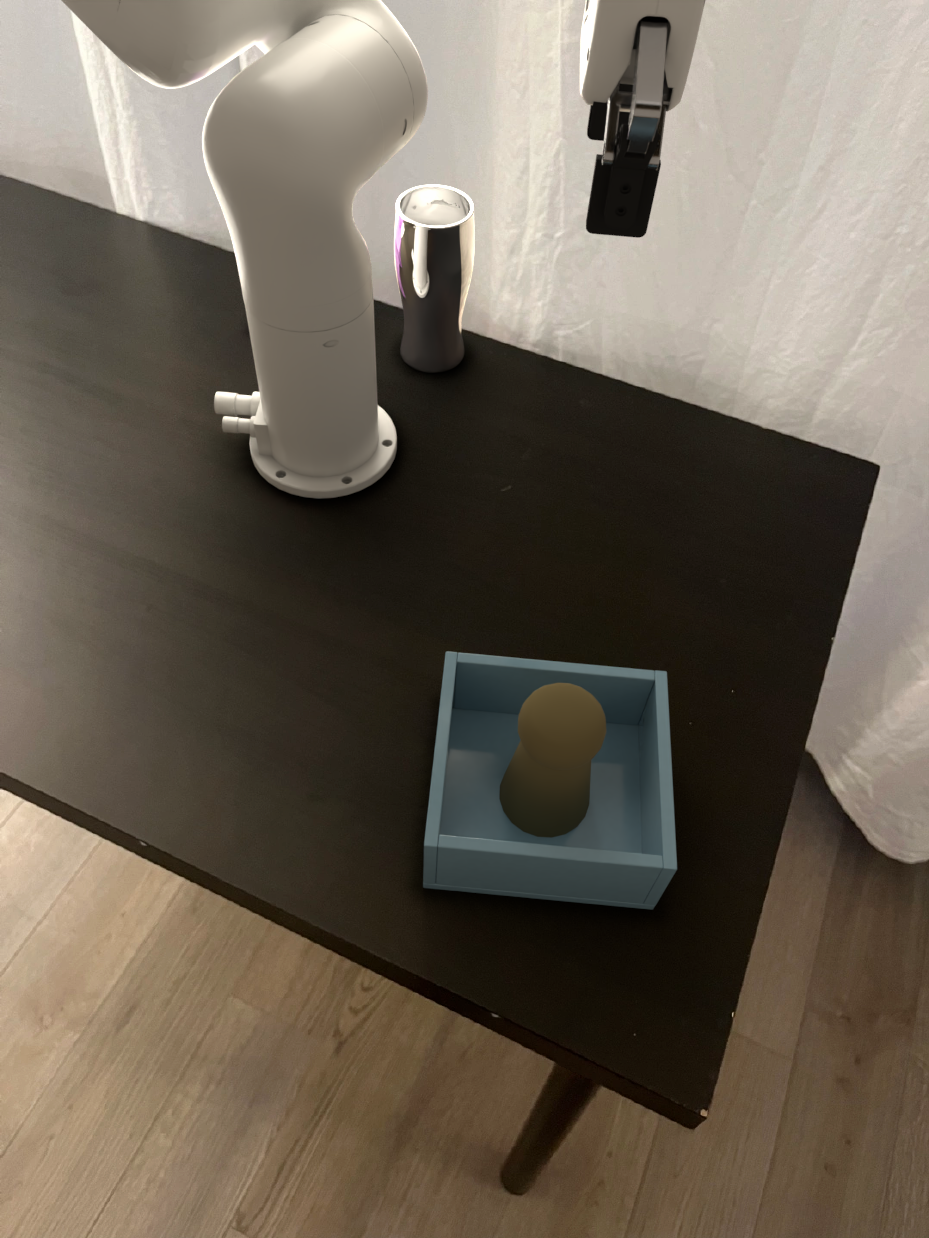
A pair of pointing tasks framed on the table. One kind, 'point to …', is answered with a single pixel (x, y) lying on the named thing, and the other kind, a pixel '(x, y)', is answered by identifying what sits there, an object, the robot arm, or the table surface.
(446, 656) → the blue open box
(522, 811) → the tan pawn
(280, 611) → the table surface
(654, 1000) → the table surface
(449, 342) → the beer glass
